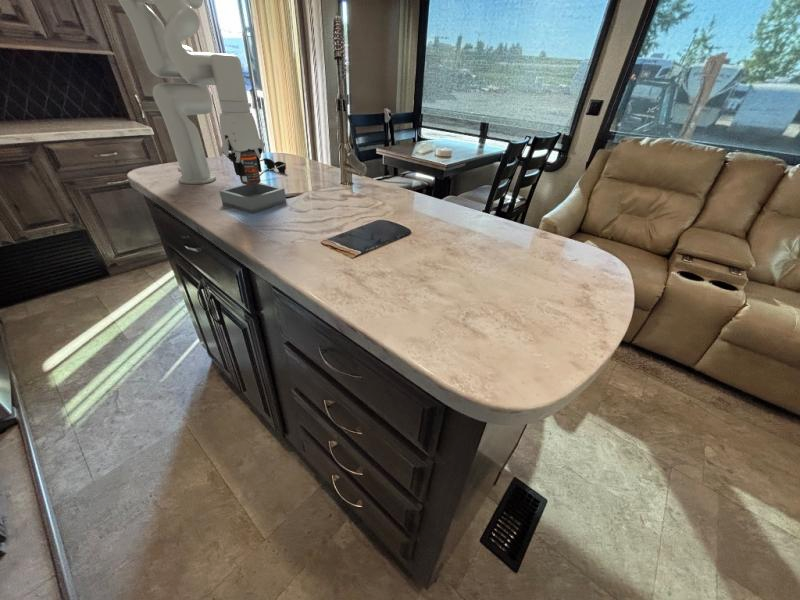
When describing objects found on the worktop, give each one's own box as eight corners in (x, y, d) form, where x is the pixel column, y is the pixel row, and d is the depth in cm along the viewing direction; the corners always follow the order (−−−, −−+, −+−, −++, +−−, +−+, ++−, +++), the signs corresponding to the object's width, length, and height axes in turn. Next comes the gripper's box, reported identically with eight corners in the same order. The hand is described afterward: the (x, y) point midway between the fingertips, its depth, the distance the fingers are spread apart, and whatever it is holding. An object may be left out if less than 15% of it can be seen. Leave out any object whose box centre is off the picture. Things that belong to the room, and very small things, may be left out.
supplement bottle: (248, 186, 102) (239, 147, 95) (237, 182, 104) (228, 144, 98) (265, 182, 106) (257, 144, 99) (254, 179, 108) (246, 142, 102)
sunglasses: (288, 174, 142) (285, 162, 139) (258, 184, 131) (254, 171, 128) (266, 169, 147) (263, 157, 144) (235, 178, 136) (232, 166, 133)
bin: (222, 204, 106) (219, 190, 104) (256, 194, 117) (254, 181, 114) (253, 213, 101) (250, 199, 99) (286, 201, 112) (284, 188, 109)
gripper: (250, 105, 101) (262, 166, 111) (198, 108, 88) (217, 177, 98) (268, 107, 98) (278, 170, 108) (217, 110, 85) (234, 181, 96)
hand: (249, 172), depth 103 cm, fingers closed on supplement bottle, 6 cm apart
